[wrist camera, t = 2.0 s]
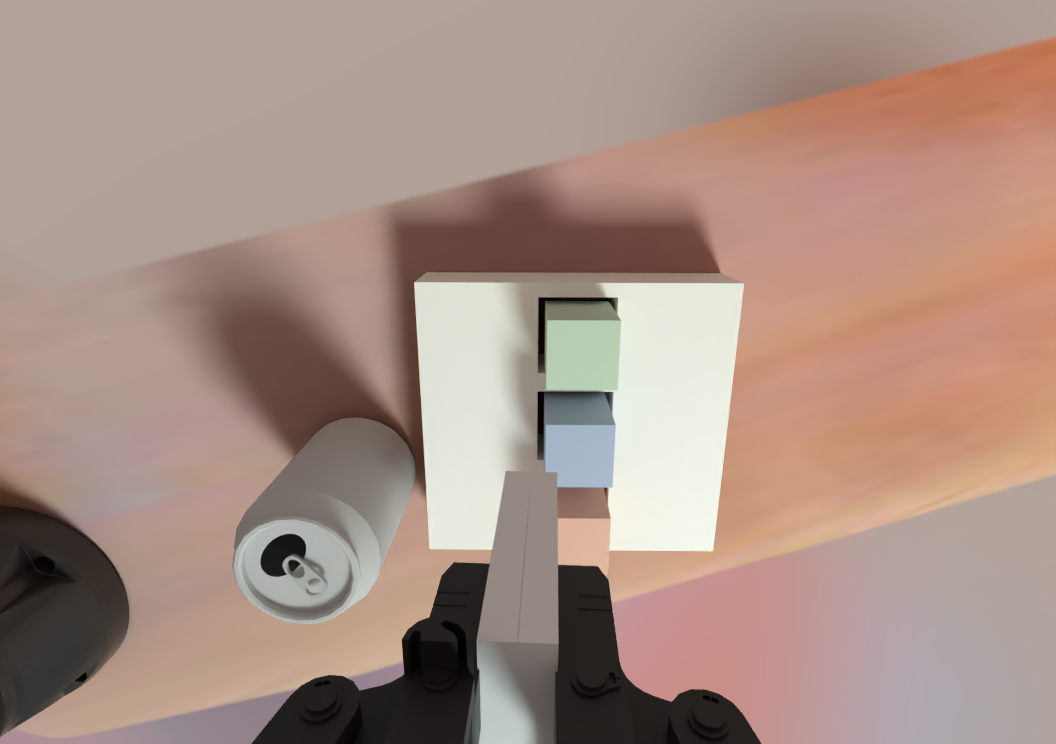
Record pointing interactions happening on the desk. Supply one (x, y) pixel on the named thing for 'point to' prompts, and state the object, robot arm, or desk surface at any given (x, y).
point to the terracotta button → (583, 527)
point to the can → (325, 523)
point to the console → (519, 373)
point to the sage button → (581, 345)
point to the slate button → (579, 439)
